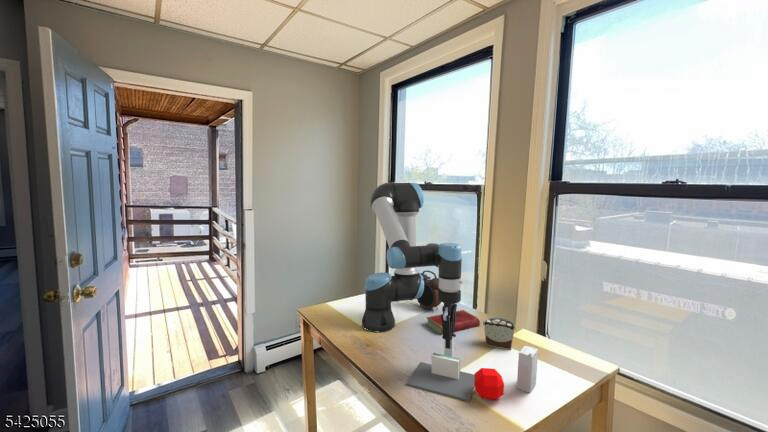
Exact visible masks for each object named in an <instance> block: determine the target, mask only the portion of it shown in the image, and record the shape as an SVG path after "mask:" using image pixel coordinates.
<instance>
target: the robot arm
mask: <svg viewBox="0 0 768 432" xmlns="http://www.w3.org/2000/svg"><path fill="white" fill-rule="evenodd" d="M424 196H425V195H424V192H423V189H422V188H421V186H420V185H419V184H418V183H415V182H384V183H381V184H380V185H377V187H376V188H375V189H374V190H373V191H372V193H371V196H370V199H369V203H370V208H371V210H372V212H373V214H374V215H376V218H377V220H378V222H379V224H380V227H381V230H382V232H383V235H384V238H385V240H386V242H387V245H388V248H387V251H386V262H387V263H386V264H387V265H388V267H389V268H390V269H393V271H394V272H393V275H392V274H390V273H389V272H383V271H382V272H376V273H372V274H370V275H369V276H367V277H366V278H365V286H364V292H365V309H364V313H363V315H362V319H361V327H362V326H363V327H364V328H366V329H368V330H371V331H370V332H372V331H379V332H378V333H382V332H383V331H384V332H387V331H388V332H389V331H391V330H393V329H394V328H395V326H396V320H395V316H394V313H393V310H392V303H393V302H394V303H395V302H403V301H405V302H406V301H413V300H417V299H418V298H420V297H421V296H422V294H423V291H424V281H423V276H422V275H421V274H420V270H419V269H418V268H422V267H423V268H424V267H437V268H438V276H437V278H438V287H439V290H438V299H439V301H441V303H443V305H442V307H441V309H442V314H441V319H442V332H443V335H441V338H442V340H444V344H443V345H444V346H443V347H444V348H443V349H444V351H443V353H444V354H443V355H446V356H450V357H454V338H456V337H457V336H456V335H457V334H455V333H456V332H455V320H456V311H457V306H458V304H459V303H460V302H461V300H462V291H461V288H462V284H463V283H464V281H463V280H462V264H463V263H462V261H463V260H462V259H463V255H462V246H461V245H460V244H459V243H454V242H443V243H440V244H439V243H435V242H430V243H427V244H426V245H425V244H424V245H417V242H416V240H417V236H416V235H417V227H416V226H417V223H416V221H417V219H416V217H417V215H418V214H419V213H420V209H421V208H423V207H424V203H425V202H424V201H425V198H424ZM363 327H362V328H363ZM364 328H363V329H364ZM392 328H393V329H392ZM368 330H367V331H368ZM384 332H383V333H384Z"/></svg>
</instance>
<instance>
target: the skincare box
mask: <svg viewBox="0 0 768 432" xmlns="http://www.w3.org/2000/svg"><path fill="white" fill-rule="evenodd" d="M538 354H539V349H538V348H535V347H531V346H528V345H524V346H523V347H522V348H521V350H520V351H519V352H518V361H517V377H516V388H517V389H518V390H521V391H523V392H525V393H526V392H527V393H529V394H531V392H532V390H533V389H534V388H535V386H536V384H537V375H538V374H537V371H538V356H539V355H538Z"/></svg>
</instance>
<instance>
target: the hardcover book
mask: <svg viewBox="0 0 768 432" xmlns="http://www.w3.org/2000/svg"><path fill="white" fill-rule="evenodd" d="M426 319H427V326H428V327H430V328H432V329H433V330H434V331H436V332H437V333H438V334H440V335H441V336H443V332H442V319H441V314H437V315H431V316H426ZM478 327H481V319H480V318H479V317H477V316H476V315H474V314H472V313H470V312H468V311H466V310H465V309H460V310H456V320H455V332H454V333H456V332H460V331H465V330H470V329H474V328H478Z"/></svg>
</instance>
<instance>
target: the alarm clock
mask: <svg viewBox="0 0 768 432" xmlns="http://www.w3.org/2000/svg"><path fill="white" fill-rule="evenodd" d="M425 273H430V274H432V275H433V276H434V277H433V278H431V276H428V275H427V274H425ZM419 274H421V275H422V276H423V281H424V291H423V294H422V296H421V297H420V298H418V299H416V300H417V302H418V303H419V308H421V307H422V308H423V309H427V310H429V309H430V310H431V311H432V313H434V310H433V309H434V308H436V310H439V308H438V306H440V305H441V304H442V302H441V301H439V299H438V290H439V287H438V276H437V275H436V273H435V272H434V271H430V270H423V271H422V272H419Z"/></svg>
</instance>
